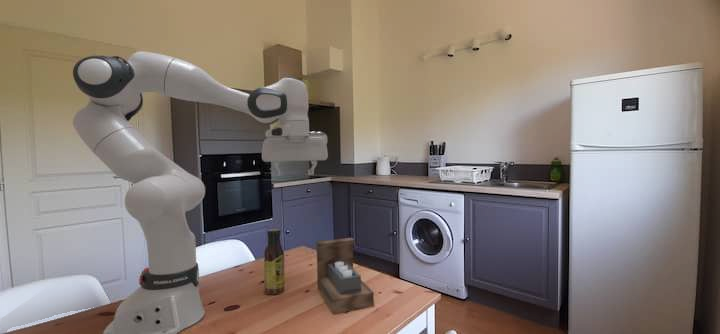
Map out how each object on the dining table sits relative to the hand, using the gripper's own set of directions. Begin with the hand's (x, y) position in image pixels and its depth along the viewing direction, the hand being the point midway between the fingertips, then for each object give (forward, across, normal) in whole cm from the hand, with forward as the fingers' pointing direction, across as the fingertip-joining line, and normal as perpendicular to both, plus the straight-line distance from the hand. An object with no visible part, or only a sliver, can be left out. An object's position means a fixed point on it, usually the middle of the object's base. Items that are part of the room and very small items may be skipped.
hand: (296, 175), depth 102 cm
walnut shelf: (+37, -12, +9) cm, 40 cm away
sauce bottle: (+37, +7, -4) cm, 38 cm away
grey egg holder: (+33, -12, +9) cm, 36 cm away
